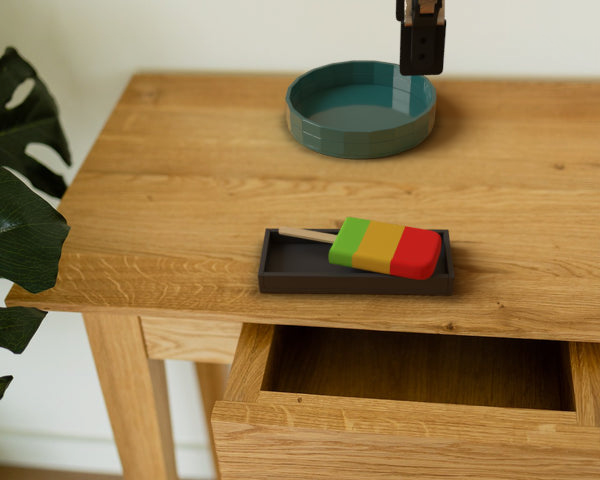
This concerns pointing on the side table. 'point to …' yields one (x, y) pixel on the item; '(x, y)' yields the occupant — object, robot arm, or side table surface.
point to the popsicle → (379, 247)
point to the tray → (340, 269)
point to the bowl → (360, 109)
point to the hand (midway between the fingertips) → (417, 45)
